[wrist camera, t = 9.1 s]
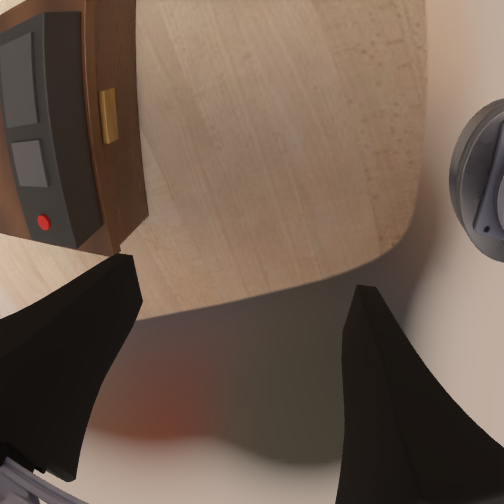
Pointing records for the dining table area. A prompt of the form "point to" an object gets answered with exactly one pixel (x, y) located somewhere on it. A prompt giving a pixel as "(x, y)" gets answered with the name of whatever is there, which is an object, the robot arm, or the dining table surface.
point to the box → (95, 120)
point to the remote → (49, 128)
